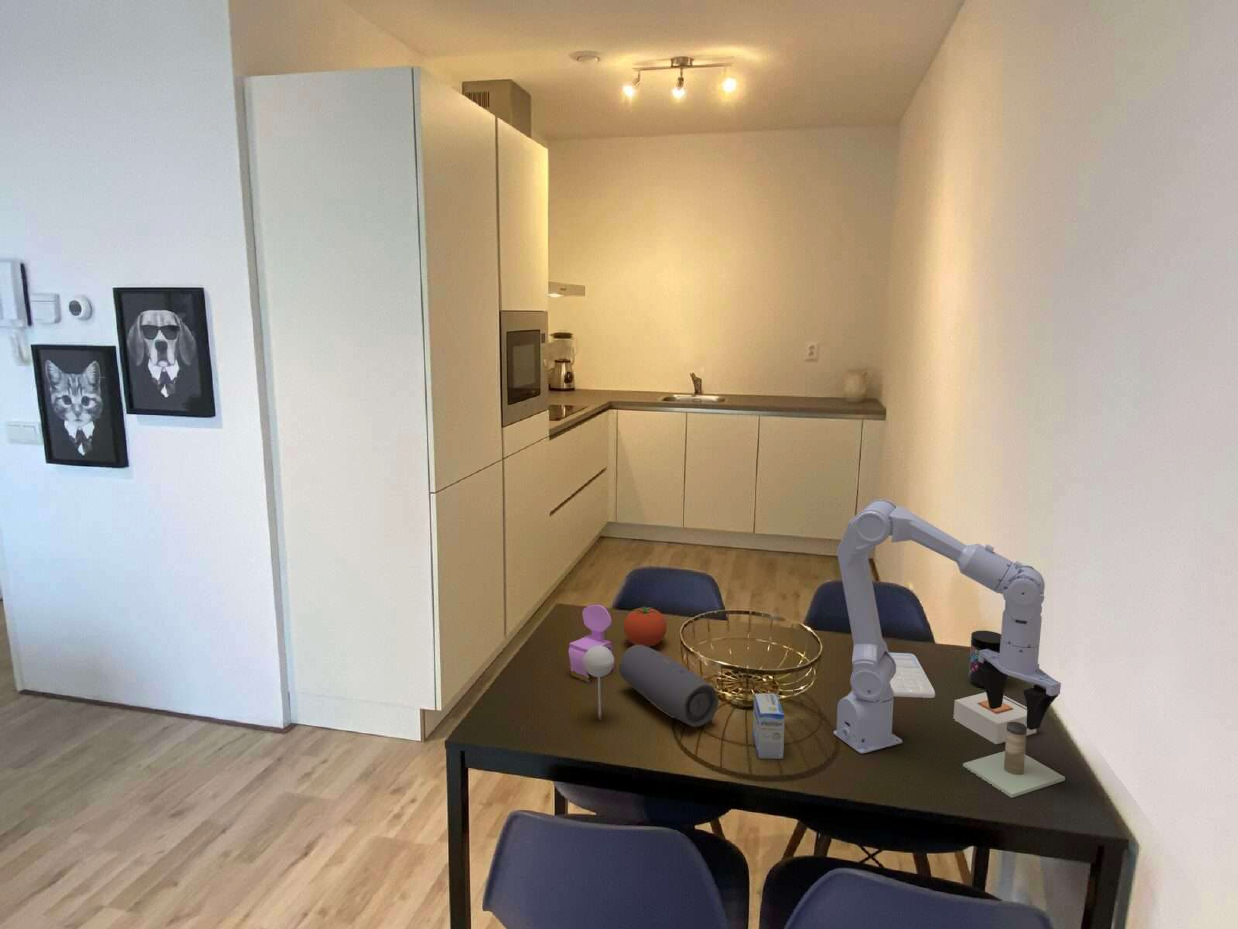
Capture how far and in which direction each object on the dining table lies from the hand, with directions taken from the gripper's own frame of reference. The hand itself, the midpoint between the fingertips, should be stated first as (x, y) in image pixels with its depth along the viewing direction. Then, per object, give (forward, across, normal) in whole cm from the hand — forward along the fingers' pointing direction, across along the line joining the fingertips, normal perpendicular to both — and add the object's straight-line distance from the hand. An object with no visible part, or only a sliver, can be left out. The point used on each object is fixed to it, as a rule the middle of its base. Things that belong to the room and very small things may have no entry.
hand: (1013, 717), depth 133 cm
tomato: (+10, +74, +34) cm, 82 cm away
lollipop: (+10, +45, +57) cm, 74 cm away
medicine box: (+10, +23, +33) cm, 42 cm away
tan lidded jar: (+9, -1, 0) cm, 9 cm away
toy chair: (+10, +65, +51) cm, 83 cm away
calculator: (+11, +37, -8) cm, 40 cm away
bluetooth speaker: (+10, +44, +43) cm, 63 cm away
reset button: (+8, +12, -10) cm, 18 cm away
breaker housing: (+10, +12, -10) cm, 19 cm away
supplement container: (+10, +26, -23) cm, 36 cm away
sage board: (+10, -1, 0) cm, 10 cm away
